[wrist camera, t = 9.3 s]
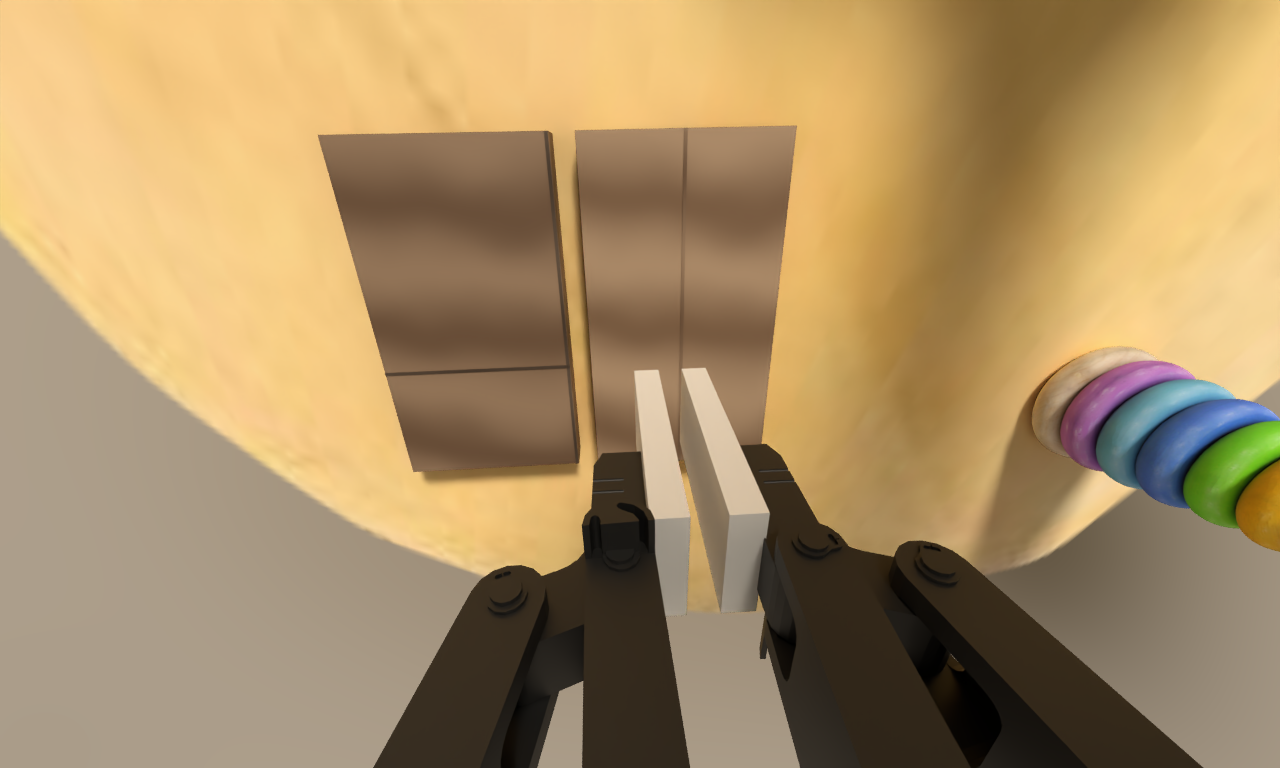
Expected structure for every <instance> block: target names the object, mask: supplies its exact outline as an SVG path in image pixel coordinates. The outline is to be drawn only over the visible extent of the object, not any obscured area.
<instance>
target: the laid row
mask: <svg viewBox="0 0 1280 768" xmlns="http://www.w3.org/2000/svg"><path fill="white" fill-rule="evenodd" d="M318 138H319V141H320V145H321V148H322V152H323V155H324V159H325V162H326V166H327V169H328V173H329V176H330V180H331V183H332V187H333V190H334V194H335V197H336V201H337V204H338V208H339V212H340V215H341V219H342V222H343V226H344V229H345V233H346V236H347V240H348V243H349V247H350V250H351V254H352V257H353V261H354V264H355V268H356V271H357V275H358V278H359V282H360V285H361V289H362V292H363V296H364V300H365V303H366V307H367V310H368V314H369V317H370V321H371V324H372V328H373V331H374V335H375V338H376V342H377V345H378V349H379V352H380V356H381V359H382V363H383V366H384V370H385V375H386V377H387V380H388V384H389V387H390V391H391V395H392V398H393V402H394V405H395V409H396V412H397V416H398V419H399V423H400V426H401V430H402V433H403V437H404V440H405V444H406V447H407V451H408V454H409V458H410V461H411V465H412V468H413V472H421V471H440V470H458V469H477V468H495V467H513V466H532V465H550V464H569V463H576V464H577V463H579V456H580V437H579V426H578V415H577V404H576V392H575V381H574V370H573V359H572V348H571V337H570V326H569V315H568V303H567V292H566V281H565V270H564V259H563V248H562V237H561V225H560V214H559V203H558V192H557V181H556V170H555V159H554V148H553V136H552V133H551V132H549V131H516V132H460V133H403V134H347V135H318Z"/></svg>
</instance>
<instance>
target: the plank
mask: <svg viewBox="0 0 1280 768" xmlns="http://www.w3.org/2000/svg"><path fill="white" fill-rule="evenodd" d="M796 128H797V126H758V127H711V128H665V129H618V130H575V139H576V153H577V167H578V181H579V195H580V209H581V224H582V238H583V252H584V266H585V280H586V294H587V308H588V322H589V336H590V350H591V365H592V379H593V393H594V407H595V421H596V435H597V449H598V459H599V458H600V456H601V455H602V453H616V452H637V448H636V421H635V383H634V371H639V370H658V371H659V375H660V380H661V385H662V389H663V394H664V398H665V403H666V407H667V412H668V417H669V421H670V426H671V430H672V435H673V439H674V444H675V449H676V453H677V458H678V461H680V460H684V457H683V453H682V449H681V444H680V413H681V371H682V369H689V368H706V370H707V372H708V375H709V377H710V379H711V381H712V384H713V386H714V388H715V391H716V393H717V395H718V397H719V400H720V402H721V404H722V406H723V409H724V411H725V413H726V415H727V418H728V420H729V422H730V424H731V427H732V429H733V431H734V433H735V436H736V438H737V440H738V442H739V445H756V444H761V442H762V433H763V424H764V415H765V406H766V397H767V388H768V379H769V370H770V361H771V352H772V343H773V334H774V325H775V316H776V307H777V298H778V289H779V281H780V272H781V263H782V254H783V245H784V236H785V227H786V218H787V209H788V200H789V191H790V182H791V173H792V164H793V155H794V146H795V137H796Z"/></svg>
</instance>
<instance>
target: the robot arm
mask: <svg viewBox="0 0 1280 768" xmlns="http://www.w3.org/2000/svg"><path fill="white" fill-rule="evenodd" d="M634 383H635V421H636V448H637V452H616V453H602V455H601V456H600V458H599V459H598V460H597V462H596V463H595V465H594V472H593V489H592V507H591V510H590V511H589V512H588V513H587V514H586V515H585V517H584V520H583V524H582V532H583V542H584V553H583V554H582V555H581V557H580V558H579V559H578V560H577V561H575V562H574V563H572V564H571V565H569V566H568V567H565V568H563V569H561V570H559V571H556V572H553V573H550V574H547V575H544V576H541V575H540V574H539V573H538V572H537V571H535V570H534V569H532V568H529V567H526V566H522V565H517V566H506V567H503V568H500V569H498V570H495V571H492V572H491V573H490V574H488V575H487V576H485V577H484V578H482V579H481V580H480V581H479V583H478V584H477V585H476V586H475V587H474V589H473V590H472V591H471V593H470V595H469V597H468V598H467V600H466V602H465V604H464V605H463V607H462V609H461V611H460V613H459V615H458V616H457V618H456V620H455V622H454V623H453V625H452V627H451V629H450V631H449V632H448V634H447V636H446V638H445V640H444V642H443V643H442V645H441V647H440V649H439V650H438V652H437V654H436V656H435V658H434V659H433V661H432V663H431V665H430V667H429V668H428V670H427V672H426V674H425V676H424V677H423V680H422V681H421V683H420V685H419V686H418V688H417V690H416V692H415V694H414V695H413V697H412V699H411V701H410V703H409V704H408V706H407V708H406V710H405V712H404V714H403V715H402V717H401V719H400V721H399V722H398V724H397V726H396V728H395V730H394V731H393V733H392V735H391V737H390V739H389V740H388V742H387V744H386V746H385V748H384V749H383V751H382V753H381V755H380V757H379V758H378V760H377V762H376V764H375V766H374V767H373V768H537V766H538V763H539V759H540V756H541V752H542V748H543V745H544V742H545V738H546V735H547V731H548V728H549V725H550V721H551V718H552V714H553V711H554V707H555V704H556V700H557V697H558V693H559V691H560V690H563V689H565V688H567V687H570V686H572V685H574V684H576V683H579V682H581V681H584V682H583V687H584V688H583V752H582V756H583V757H582V768H690V764H689V758H688V753H687V746H686V739H685V734H684V728H683V721H682V716H681V709H680V703H679V696H678V690H677V684H676V678H675V672H674V665H673V660H672V653H671V647H670V641H669V635H668V629H667V623H666V617H667V616H683V615H687V592H688V567H689V543H690V518H691V517H690V513H689V508H688V503H687V499H686V494H685V490H684V485H683V481H682V476H681V471H680V467H679V462H678V458H677V453H676V449H675V444H674V439H673V435H672V430H671V426H670V421H669V417H668V412H667V407H666V403H665V398H664V394H663V389H662V385H661V380H660V375H659V371H658V370H639V371H634ZM680 444H681V449H682V453H683V457H684V461H685V465H686V469H687V474H688V478H689V482H690V486H691V490H692V494H693V499H694V503H695V507H696V511H697V515H698V520H699V524H700V528H701V532H702V536H703V540H704V545H705V549H706V553H707V557H708V561H709V566H710V570H711V574H712V578H713V582H714V586H715V591H716V595H717V599H718V603H719V607H720V611H721V613H731V612H747V611H756V607H757V600H758V593H759V596H760V599H761V602H762V605H763V608H764V611H765V616H764V623H763V630H762V636H761V642H760V659H765V658H766V653H767V648H768V652H769V655H770V659H771V663H772V666H773V670H774V673H775V677H776V680H777V684H778V688H779V692H780V695H781V699H782V702H783V706H784V710H785V713H786V717H787V721H788V724H789V728H790V732H791V735H792V739H793V743H794V746H795V750H796V753H797V757H798V761H799V764H800V768H1203V767H1202V766H1201V765H1199V764H1198V763H1197V762H1196V761H1195V760H1194V759H1193V758H1192V757H1190V756H1189V755H1188V754H1187V753H1186V752H1185V751H1184V750H1182V749H1181V748H1180V747H1179V746H1178V745H1177V744H1176V743H1174V742H1173V741H1172V740H1171V739H1170V738H1169V737H1167V736H1166V735H1165V734H1164V733H1163V732H1162V731H1161V730H1160V729H1158V728H1157V727H1156V726H1155V725H1154V724H1153V723H1151V722H1150V721H1149V720H1148V719H1147V718H1146V717H1145V716H1143V715H1142V714H1141V713H1140V712H1139V711H1138V710H1137V709H1136V708H1134V707H1133V706H1132V705H1131V704H1130V703H1129V702H1127V701H1126V700H1125V699H1124V698H1123V697H1122V696H1121V695H1120V694H1118V693H1117V692H1116V691H1115V690H1114V689H1113V688H1112V687H1110V686H1109V685H1108V684H1107V683H1106V682H1105V681H1104V680H1102V679H1101V678H1100V677H1099V676H1098V675H1097V674H1096V673H1094V672H1093V671H1092V670H1091V669H1090V668H1089V667H1088V666H1086V665H1085V664H1084V663H1083V662H1082V661H1081V660H1079V659H1078V658H1077V657H1076V656H1075V655H1074V654H1073V653H1072V652H1070V651H1069V650H1068V649H1067V648H1066V647H1065V646H1064V645H1062V644H1061V643H1060V642H1059V641H1058V640H1057V639H1056V638H1054V637H1053V636H1052V635H1051V634H1050V633H1049V632H1047V631H1046V630H1045V629H1044V628H1043V627H1042V626H1041V625H1040V624H1038V623H1037V622H1036V621H1035V620H1034V619H1033V618H1032V617H1030V616H1029V615H1028V614H1027V613H1026V612H1025V611H1023V610H1022V609H1021V608H1020V607H1019V606H1018V605H1017V604H1015V603H1014V602H1013V601H1012V600H1011V599H1010V598H1009V597H1008V596H1006V595H1005V594H1004V593H1003V592H1002V591H1001V590H1000V589H998V588H997V587H996V586H995V585H994V584H993V583H991V582H990V581H989V580H988V579H987V578H986V577H985V576H984V575H982V574H981V573H980V572H979V571H978V570H977V569H976V568H974V567H973V566H972V565H971V564H970V563H969V562H968V561H966V560H965V559H964V558H962V557H961V556H959V555H958V554H956V553H955V552H954V551H952V550H950V549H947V548H945V547H943V546H941V545H938V544H935V543H930V542H926V541H908V542H906V543H904V544H902V545H900V546H899V547H898V549H897V551H896V553H895V556H894V557H891V556H886V555H881V554H876V553H870V552H865V551H861V550H857V549H854V548H851V547H849V546H848V545H847V543H846V542H845V541H844V540H843V538H842V537H841V536H840V535H839V534H838V533H837V532H835V531H834V530H832V529H831V528H829V527H828V526H825V525H822V524H820V523H819V522H818V521H817V519H816V517H815V515H814V514H813V512H812V510H811V508H810V506H809V505H808V503H807V501H806V499H805V498H804V496H803V494H802V492H801V491H800V489H799V487H798V485H797V483H796V482H794V478H793V476H792V475H791V473H790V471H788V468H787V466H786V464H785V462H784V460H783V459H782V457H781V455H780V454H778V453H777V452H776V451H775V450H773V449H772V448H771V447H769V446H768V445H767V444H756V445H739V442H738V440H737V438H736V436H735V433H734V431H733V429H732V427H731V424H730V422H729V420H728V418H727V415H726V413H725V411H724V409H723V406H722V404H721V402H720V400H719V397H718V395H717V393H716V391H715V388H714V386H713V384H712V381H711V379H710V377H709V375H708V372H707V370H706V368H689V369H682V371H681V413H680ZM951 654H952V655H951ZM952 656H953V657H954V658H955V659H956V660H957V661H958V662H957V661H956V660H955V659H954V658H953V657H952Z"/></svg>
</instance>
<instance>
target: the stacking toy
mask: <svg viewBox="0 0 1280 768" xmlns="http://www.w3.org/2000/svg"><path fill="white" fill-rule="evenodd" d="M1032 427H1033V430H1034V433H1035V435H1036V437H1037V439H1038V440H1039V441H1040V443H1041V444H1042V445H1043V446H1045V447H1046V448H1047V449H1049V450H1050V451H1052V452H1054V453H1056V454H1059V455H1062V456H1066V457H1071V458H1072V459H1073V460H1074V461H1076V462H1077V463H1079V464H1080V465H1082V466H1084V467H1087V468H1089V469H1092V470H1096V471H1103V472H1105V473H1106V474H1107V475H1108V476H1109V477H1110V478H1112V479H1113V480H1115V481H1116V482H1118V483H1120V484H1122V485H1125V486H1128V487H1132V488H1136V489H1143V490H1144V491H1145V492H1146V493H1147V494H1148V495H1149V496H1151V497H1152V498H1154V499H1155V500H1157V501H1159V502H1161V503H1164V504H1167V505H1170V506H1174V507H1179V508H1191V510H1192V511H1193V512H1194V513H1196V514H1197V515H1198V516H1200V517H1201V518H1203V519H1205V520H1206V521H1209V522H1211V523H1214V524H1216V525H1220V526H1223V527H1228V528H1240V529H1241V531H1242V532H1243V533H1244V534H1245V535H1246V536H1247V537H1248V538H1249V539H1251V540H1252V541H1253V542H1255V543H1257V544H1259V545H1261V546H1263V547H1265V548H1269V549H1271V550H1275V551H1279V552H1280V419H1279V418H1278V416H1277V415H1276V414H1275V413H1273V412H1272V411H1271V410H1269V409H1267V408H1265V407H1264V406H1262V405H1259V404H1257V403H1254V402H1251V401H1246V400H1240V399H1236V398H1235V397H1234V396H1233V395H1232V394H1231V393H1230V392H1229V391H1228V390H1226V389H1224V388H1223V387H1221V386H1219V385H1216V384H1214V383H1211V382H1208V381H1203V380H1196V379H1195V377H1194V376H1193V375H1192V374H1191V373H1189V372H1188V371H1187V370H1185V369H1183V368H1182V367H1180V366H1177V365H1175V364H1172V363H1168V362H1163V361H1159V360H1158V359H1157V358H1156V357H1154V356H1153V355H1151V354H1149V353H1147V352H1145V351H1143V350H1140V349H1136V348H1132V347H1107V348H1102V349H1098V350H1095V351H1092V352H1089V353H1087V354H1085V355H1082V356H1080V357H1078V358H1077V359H1075V360H1073V361H1072V362H1070V363H1069V364H1067V365H1066V366H1064V367H1063V368H1062V369H1060V370H1059V371H1058V372H1057V373H1056V374H1054V375H1053V376H1052V377H1051V378H1050V379H1049V380H1048V382H1047V383H1046V384H1045V385H1044V387H1043V388H1042V390H1041V391H1040V393H1039V395H1038V397H1037V399H1036V401H1035V404H1034V407H1033V411H1032Z"/></svg>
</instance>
